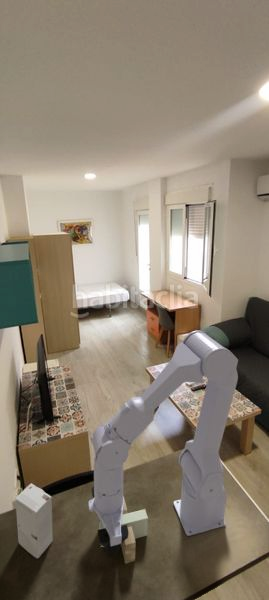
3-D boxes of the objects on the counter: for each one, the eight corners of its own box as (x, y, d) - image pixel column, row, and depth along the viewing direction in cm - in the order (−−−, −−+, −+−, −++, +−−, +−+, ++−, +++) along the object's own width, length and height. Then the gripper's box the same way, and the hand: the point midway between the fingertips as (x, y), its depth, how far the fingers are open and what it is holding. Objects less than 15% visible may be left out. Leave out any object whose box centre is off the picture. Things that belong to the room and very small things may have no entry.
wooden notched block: (123, 513, 67) (123, 496, 66) (135, 560, 58) (135, 542, 57) (115, 515, 67) (115, 498, 66) (125, 563, 58) (125, 545, 56)
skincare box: (17, 543, 61) (12, 498, 57) (34, 525, 64) (30, 481, 61) (38, 560, 58) (34, 514, 54) (55, 540, 62) (52, 495, 58)
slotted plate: (144, 526, 65) (145, 509, 63) (147, 535, 63) (147, 517, 61) (99, 538, 62) (99, 520, 61) (100, 548, 60) (100, 529, 59)
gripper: (84, 458, 63) (85, 506, 67) (93, 524, 50) (94, 580, 53) (116, 452, 65) (116, 499, 69) (133, 514, 52) (131, 568, 55)
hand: (108, 534), depth 61 cm, fingers open, 7 cm apart
